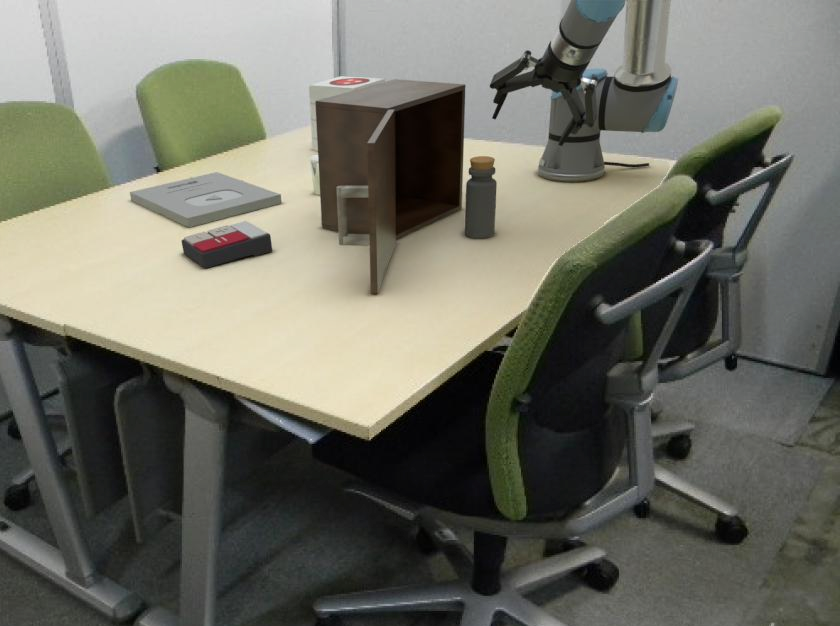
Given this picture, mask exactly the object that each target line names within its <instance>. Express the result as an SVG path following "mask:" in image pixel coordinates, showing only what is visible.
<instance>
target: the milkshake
mask: <svg viewBox="0 0 840 626" xmlns="http://www.w3.org/2000/svg"><path fill="white" fill-rule="evenodd" d="M309 164H310V170H311V171H310V172H311V178H312V186H313V193H314V195H317V196H318V195H319V196H320V181H319V162H318V154H313V155H312V156H311V157H310V158H309Z"/></svg>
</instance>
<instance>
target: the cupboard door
mask: <svg viewBox="0 0 840 626" xmlns="http://www.w3.org/2000/svg"><path fill="white" fill-rule="evenodd" d="M367 160H368V186H337V208H338V231H339V232H338V245H339V246H342V247H343V246H345V247H347V246H348V247H349V246H350V247H353V246H354V247H356V246H357V247H358V246H360V247H369V268H370V269H369V273H370V274H369V275H370V279H369V280H370V294H372V295H378V294H379V292H380V288H381V287H382V286H381V285H382V283H383V280H384V277H385V275H386V271H387V269H388V266H389V264H390V261H391V258H392V256H393V252H394V250H395V247H396V244H397V240H396V202H395V110H388V111H387V113H386V114H385V116H384V117H383V119H382V120H381V122H380V124H379V125H378V127H377V128H376V130H375V131H374V133H373V135H372V136H371V138H370V139H369V141H368V143H367ZM347 198H368V200H369V234H348V223H347Z"/></svg>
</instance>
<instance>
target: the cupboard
mask: <svg viewBox="0 0 840 626" xmlns="http://www.w3.org/2000/svg"><path fill="white" fill-rule="evenodd" d="M315 105H316V124H317V143H318V151H317V155H318V162H319V181H320V195H319V197H320V215H321V216H320V217H321V229H324V230H328V231H333V232H338V233H339V231H338V208H337V186H368V160H367V143H368V141H369V139H370V138H371V136H372V135H373V133H374V131H375V130H376V128H377V127H378V125H379V124H380V122H381V120H382V119H383V117H384V116H385V114H386V113H387V111H388V110H395V202H396V241H397V240H400V239H401V238H404V237H406V236H408V235H410V234H413V233H414V232H416V231H419V230H421V229H423V228H425V227H427V226H430V225H431V224H433V223H436V222H438V221H440V220H442V219H444V218H446V217H450V216H451V215H453V214H455V213H456V212H459V211H461V210H462V209H463V180H464V179H463V177H464V151H465V150H464V149H465V115H466V114H465V111H466V110H465V109H466V83H465V84H464V83H450V82H438V81H424V80H411V79H398V78H397V79H396V78H395V79H390V80H385V82H383V83H379V84H375V85H372V86H368V87H365V88H361V89H357V90H354V91H350V92H346V93H343V94H339V95H335V96H332V97H328V98H325V99H321V100H317V101H315ZM347 223H348V234H369V200H368V198H347Z"/></svg>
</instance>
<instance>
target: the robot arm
mask: <svg viewBox="0 0 840 626" xmlns="http://www.w3.org/2000/svg"><path fill="white" fill-rule="evenodd" d="M671 1H672V0H570V1H569V4H568V5H567V7H566V10H565V12H564V14H563V16H562V18H561V20H560V21H559V23H558V25H557V27H556V29H555V31H554V33H553V34H552V37H551V40H550V41H549V43H548V44H547V47H546V48H545V50H544V52H543V55H542V56H541V57H540V58H535V57H534V56H532V51H530V50H527V49H526V50H525V51H524V52H523V53H522V55H521V56H520V58H518V59H516V60H515V61H513V62H511V63H510V64H509V65H507V66H505V67H504V68H503V69H501V70H499V71H498V72H496V73H495V74H493V76H492V79H491V81H490V83H489V88H490V89H491V90H494V89H495V90H496V93H495V96H494V98H493V100H492V101H493V104H496V107H495V109H494V112H493V114H492V117H491V119H492V120H494V121H495V120H497V117H498V116H499V114H500V111H501V109H502V107H503V106H504V103H505V101H506V99H507V96H508V94H509V93H512V92H517V91H519V90H522V89H525V88H529V87H531V88H535V87H538V86H541V88H543V89H547V90H550V91H551V96H550V110H549V124H548V139H547V143H546V145H545V148H544V151H543V153H542V156H541V157H540V159H539V161H538V165H537V174H538V176H539V177H541V178H543V179H546V180H550V181H556V182H564V183H565V182H569V183H577V182H578V183H579V182H587V181H589V182H590V181H595V180H597V179H599V178H602V177H603V176H604V175H605V169H606V166H614V167H623V168H644V167H649V166H650V162H644V163H635V164H633V163H624V162H614V161H605V160H604V155H603V150H602V148H601V142H600V141H601V140H600V139H601V131H606V132H628V133H629V132H630V133H641V134H645V133H659V132H661V131H663V130H664V128H665V127H666V125H667V122H668V120H669V116H670V114H671V111H672V107H673V103H674V101H675V100H674V99H675V96H676V92H677V89H678V84H679V78H678V77H675V76H673V75H672V67H671V65H669V64H668V63H667V62H666V53H667V44H668V43H667V42H668V33H669V32H668V31H669V23H670V13H671V3H672V2H671ZM624 7H625V14H624V31H623V45H622V48H623V49H622V60H621V61H622V63H621V65H620V66H618V67H617V68H616V69H615V71H614V76H608V75H609V74H608V70H607V69H606V68H588V66H589V65H590V63H591V61H592V59H593V58H594V56H595V54H596V52H597V51H598V49H599V47H600V46H601V43H602V42H603V40H604V38H605V36H606V35H607V33H608V32H609V30H610V28H611V27H612V25H613V23H614V22H615V20H616V18H617V17H618V15H619V14H620V13H621V12H622V10H623V9H624ZM531 67H533V69H532V70H530V71H527V70H528V69H530V68H531ZM523 71H527V72H524V73H522V72H523Z"/></svg>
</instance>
